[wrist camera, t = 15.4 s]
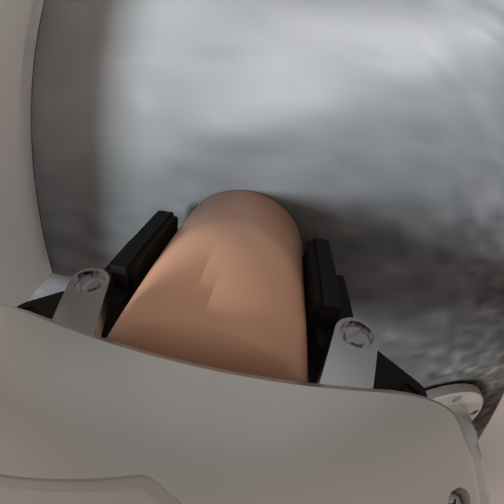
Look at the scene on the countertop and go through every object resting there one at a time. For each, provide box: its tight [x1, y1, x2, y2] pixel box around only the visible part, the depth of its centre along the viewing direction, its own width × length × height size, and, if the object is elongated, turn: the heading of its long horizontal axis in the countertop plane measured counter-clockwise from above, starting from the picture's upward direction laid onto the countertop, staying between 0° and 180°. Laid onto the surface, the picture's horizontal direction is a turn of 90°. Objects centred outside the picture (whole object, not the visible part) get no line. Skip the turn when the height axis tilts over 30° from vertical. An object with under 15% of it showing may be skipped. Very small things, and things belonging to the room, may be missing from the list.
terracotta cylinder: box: [106, 190, 308, 382], centre depth 9 cm, size 5×5×7 cm
